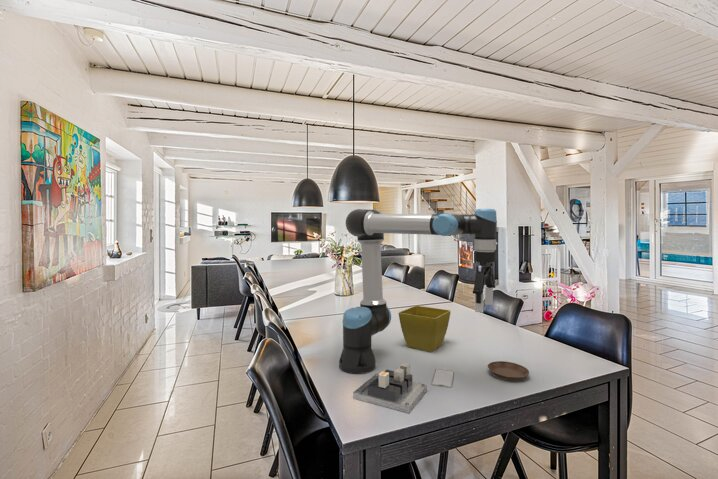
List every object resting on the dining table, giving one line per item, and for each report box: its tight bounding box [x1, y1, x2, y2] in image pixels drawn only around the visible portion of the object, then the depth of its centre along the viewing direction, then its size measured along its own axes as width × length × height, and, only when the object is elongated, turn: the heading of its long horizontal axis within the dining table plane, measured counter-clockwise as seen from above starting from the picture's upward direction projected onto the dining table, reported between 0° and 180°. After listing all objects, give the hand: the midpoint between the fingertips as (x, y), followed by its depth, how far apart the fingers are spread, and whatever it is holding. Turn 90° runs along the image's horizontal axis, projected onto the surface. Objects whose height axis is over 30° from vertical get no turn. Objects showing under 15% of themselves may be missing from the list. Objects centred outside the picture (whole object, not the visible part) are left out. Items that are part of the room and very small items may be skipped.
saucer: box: [487, 360, 530, 382], centre depth 139 cm, size 15×15×3 cm
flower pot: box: [398, 305, 451, 353], centre depth 171 cm, size 19×19×17 cm
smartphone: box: [431, 368, 455, 389], centre depth 136 cm, size 7×1×15 cm
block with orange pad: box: [378, 371, 389, 388], centre depth 118 cm, size 2×3×4 cm
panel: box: [352, 362, 428, 414], centre depth 123 cm, size 20×17×9 cm
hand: (484, 308), depth 133 cm, fingers open, 13 cm apart
